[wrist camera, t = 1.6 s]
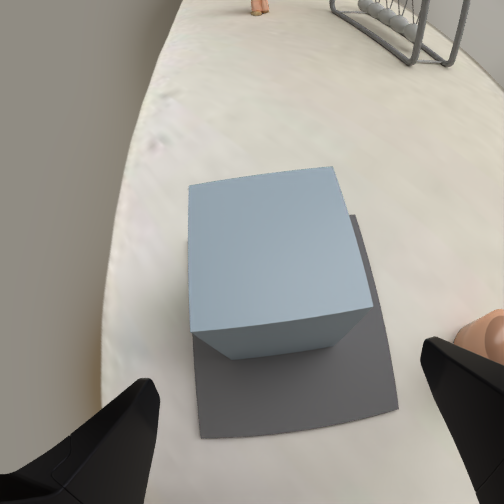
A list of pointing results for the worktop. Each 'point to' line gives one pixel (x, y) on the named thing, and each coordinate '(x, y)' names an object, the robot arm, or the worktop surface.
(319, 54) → the worktop surface
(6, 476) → the robot arm
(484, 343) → the bowl
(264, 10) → the grandmother figurine
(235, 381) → the mat
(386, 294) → the worktop surface
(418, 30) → the newton's cradle
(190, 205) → the cover
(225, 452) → the worktop surface
